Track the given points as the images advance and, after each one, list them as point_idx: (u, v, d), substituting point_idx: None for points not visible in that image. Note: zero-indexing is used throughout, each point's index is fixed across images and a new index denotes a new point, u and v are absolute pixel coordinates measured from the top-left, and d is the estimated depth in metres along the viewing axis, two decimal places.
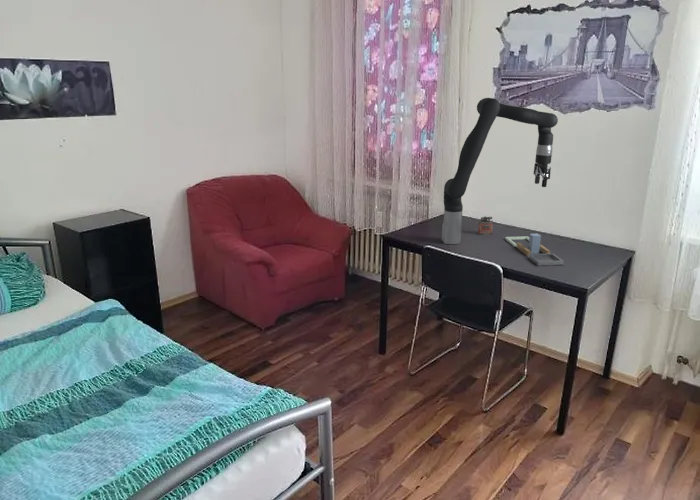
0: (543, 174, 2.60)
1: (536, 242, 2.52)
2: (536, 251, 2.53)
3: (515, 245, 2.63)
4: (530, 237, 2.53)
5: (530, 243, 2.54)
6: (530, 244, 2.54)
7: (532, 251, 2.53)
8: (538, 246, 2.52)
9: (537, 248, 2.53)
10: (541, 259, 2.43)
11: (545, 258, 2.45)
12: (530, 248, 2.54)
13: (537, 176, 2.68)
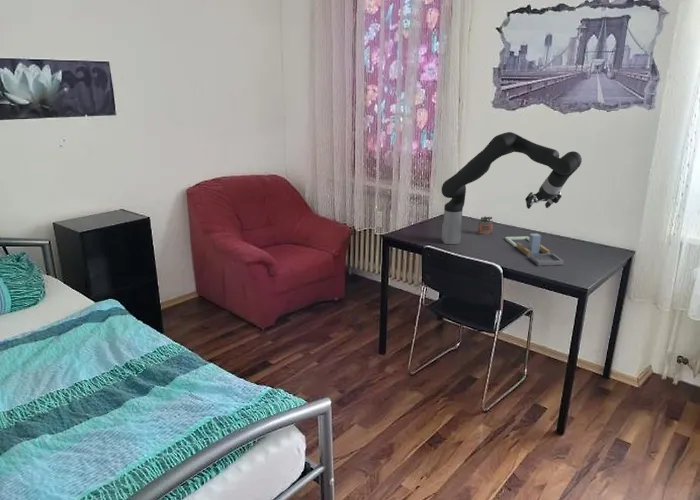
0: None
1: (536, 242, 2.52)
2: (536, 251, 2.53)
3: (515, 245, 2.63)
4: (530, 237, 2.53)
5: (530, 243, 2.54)
6: (530, 244, 2.54)
7: (532, 251, 2.53)
8: (538, 246, 2.52)
9: (537, 248, 2.53)
10: (541, 259, 2.43)
11: (545, 258, 2.45)
12: (530, 248, 2.54)
13: (549, 201, 2.30)
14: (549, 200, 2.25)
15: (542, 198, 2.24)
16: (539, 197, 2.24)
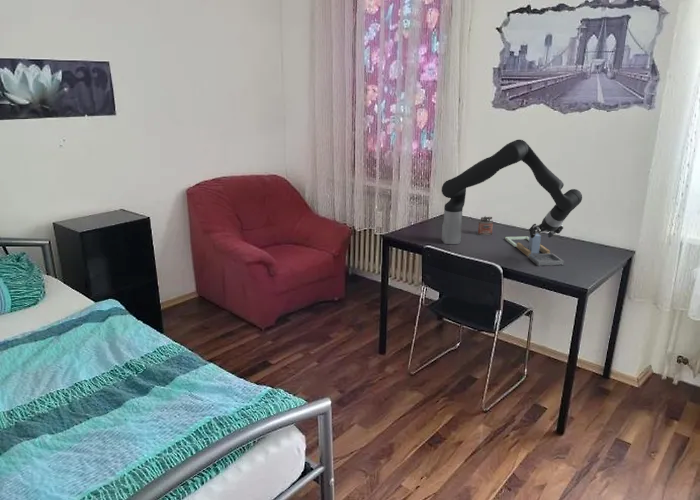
0: (536, 228, 2.41)
1: (536, 242, 2.52)
2: (536, 251, 2.53)
3: (515, 245, 2.63)
4: (530, 237, 2.53)
5: (530, 243, 2.54)
6: (530, 244, 2.54)
7: (532, 251, 2.53)
8: (538, 246, 2.52)
9: (537, 248, 2.53)
10: (541, 259, 2.43)
11: (545, 258, 2.45)
12: (530, 248, 2.54)
13: None
14: (551, 231, 2.39)
15: (545, 229, 2.38)
16: (542, 228, 2.38)
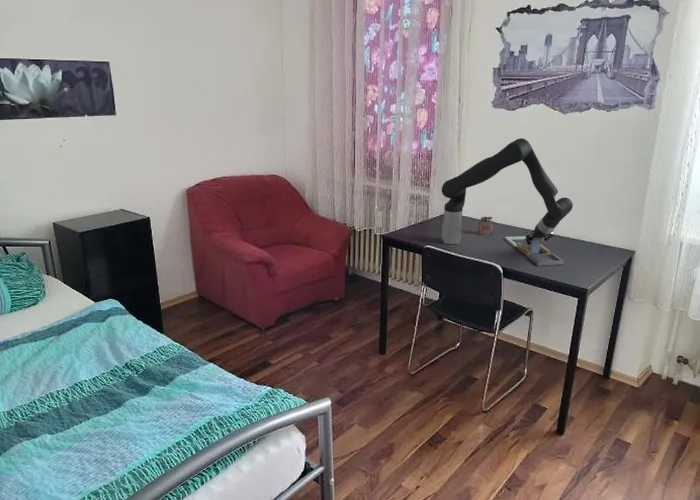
0: (531, 235, 2.50)
1: (536, 242, 2.52)
2: (536, 251, 2.53)
3: (515, 245, 2.63)
4: None
5: None
6: (530, 244, 2.54)
7: (532, 251, 2.53)
8: (538, 246, 2.52)
9: (537, 248, 2.53)
10: (541, 259, 2.43)
11: (545, 258, 2.45)
12: (530, 248, 2.54)
13: None
14: (543, 238, 2.48)
15: (537, 236, 2.46)
16: (534, 235, 2.46)
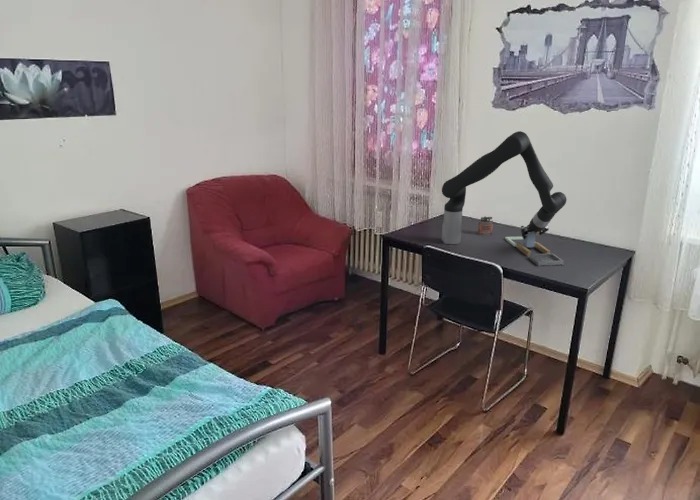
0: (526, 229, 2.55)
1: (532, 236, 2.57)
2: (531, 245, 2.58)
3: (515, 245, 2.63)
4: None
5: None
6: (525, 238, 2.59)
7: (527, 245, 2.58)
8: (533, 240, 2.57)
9: (532, 242, 2.58)
10: (541, 259, 2.43)
11: (545, 258, 2.45)
12: (525, 242, 2.59)
13: None
14: (538, 232, 2.53)
15: (532, 230, 2.51)
16: (529, 230, 2.52)
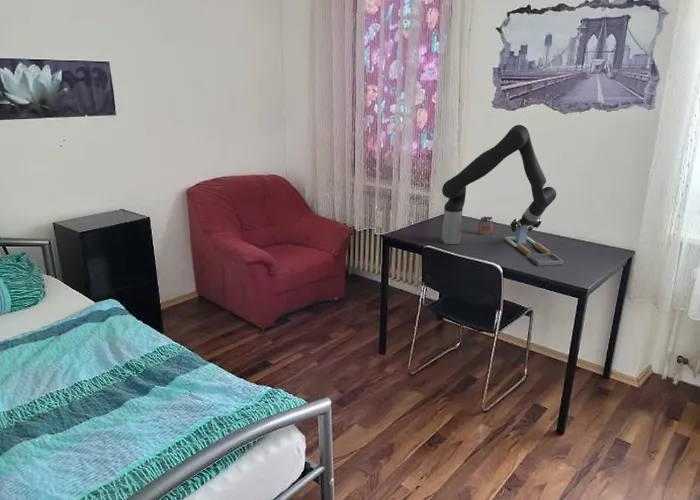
0: (517, 223, 2.64)
1: (523, 233, 2.67)
2: (523, 241, 2.68)
3: (515, 245, 2.63)
4: (517, 228, 2.69)
5: (517, 234, 2.69)
6: (517, 235, 2.69)
7: (519, 242, 2.68)
8: (525, 236, 2.68)
9: (524, 238, 2.68)
10: (541, 259, 2.43)
11: (545, 258, 2.45)
12: (518, 238, 2.69)
13: None
14: (531, 225, 2.62)
15: (524, 224, 2.61)
16: (522, 223, 2.61)
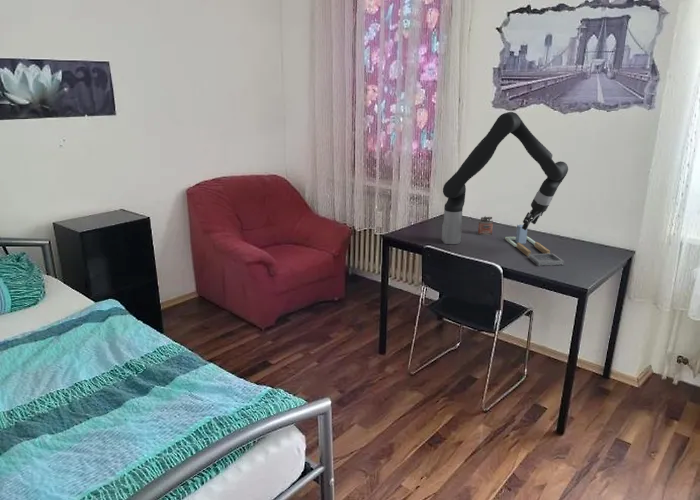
0: None
1: (523, 233, 2.67)
2: (523, 241, 2.68)
3: (515, 245, 2.63)
4: (517, 228, 2.69)
5: (517, 234, 2.69)
6: (517, 235, 2.69)
7: (519, 242, 2.68)
8: (525, 236, 2.68)
9: (524, 238, 2.68)
10: (541, 259, 2.43)
11: (545, 258, 2.45)
12: (518, 238, 2.69)
13: (535, 217, 2.53)
14: (540, 214, 2.49)
15: (537, 214, 2.46)
16: (535, 214, 2.45)
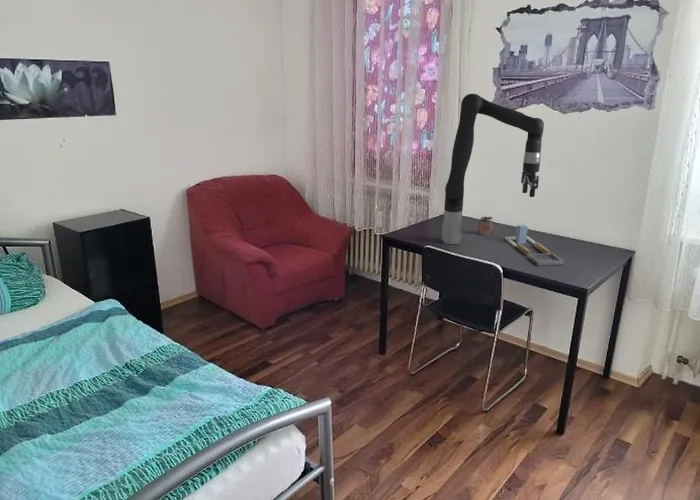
0: (531, 183, 2.44)
1: (523, 233, 2.67)
2: (523, 241, 2.68)
3: (515, 245, 2.63)
4: (517, 228, 2.69)
5: (517, 234, 2.69)
6: (517, 235, 2.69)
7: (519, 242, 2.68)
8: (525, 236, 2.68)
9: (524, 238, 2.68)
10: (541, 259, 2.43)
11: (545, 258, 2.45)
12: (518, 238, 2.69)
13: (525, 185, 2.52)
14: None
15: None
16: None
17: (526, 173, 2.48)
